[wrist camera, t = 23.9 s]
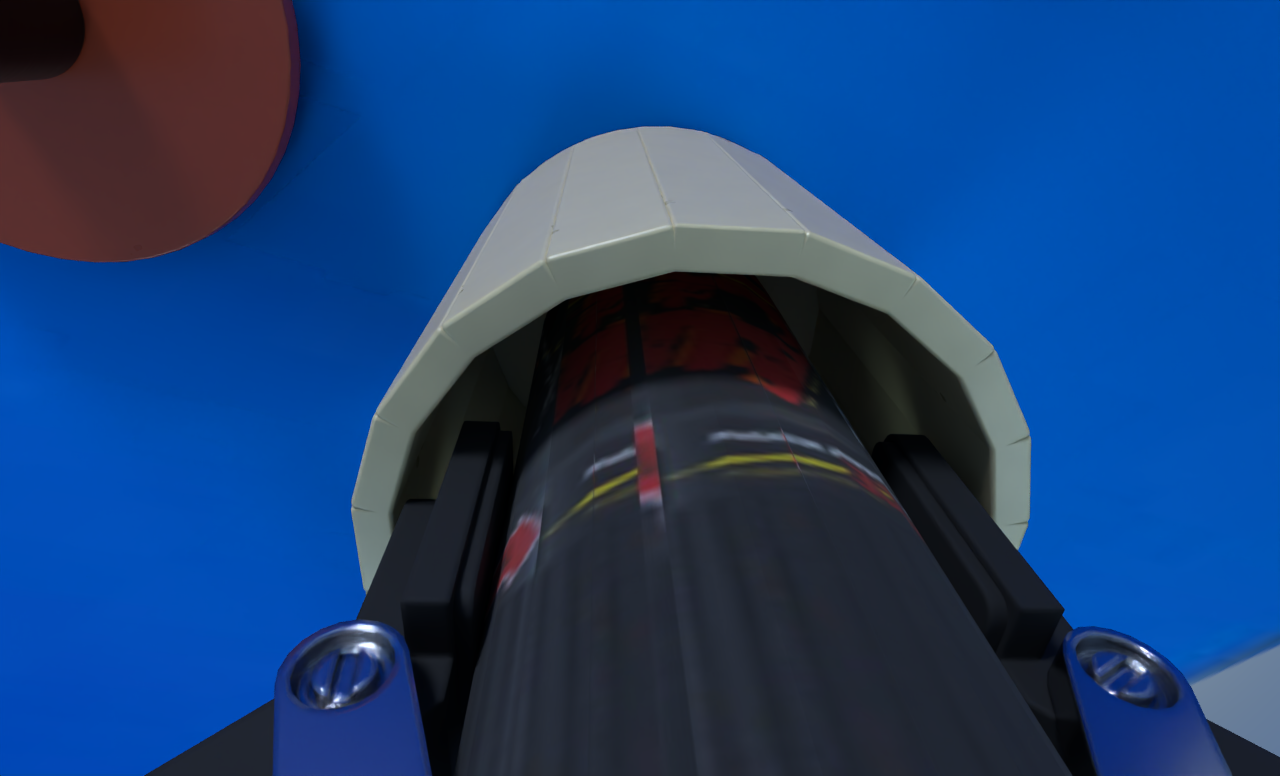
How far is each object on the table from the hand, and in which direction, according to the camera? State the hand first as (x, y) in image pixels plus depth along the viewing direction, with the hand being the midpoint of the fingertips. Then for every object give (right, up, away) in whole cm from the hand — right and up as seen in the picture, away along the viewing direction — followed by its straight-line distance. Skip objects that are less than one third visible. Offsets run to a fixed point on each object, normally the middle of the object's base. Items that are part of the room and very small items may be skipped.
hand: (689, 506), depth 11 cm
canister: (0, +4, +8) cm, 9 cm away
